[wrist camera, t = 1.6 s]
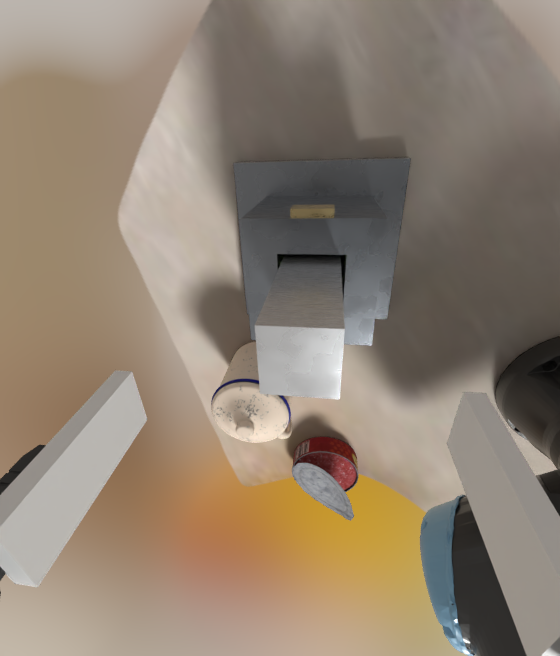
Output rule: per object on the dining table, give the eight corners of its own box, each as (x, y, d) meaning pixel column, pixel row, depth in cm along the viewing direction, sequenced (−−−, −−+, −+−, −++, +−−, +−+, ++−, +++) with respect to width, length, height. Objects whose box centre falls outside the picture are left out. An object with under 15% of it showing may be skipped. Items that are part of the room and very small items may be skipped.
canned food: (339, 454, 58) (330, 518, 53) (288, 436, 56) (273, 500, 51) (379, 448, 48) (373, 525, 43) (320, 425, 46) (305, 503, 41)
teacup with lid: (218, 355, 45) (184, 417, 35) (273, 326, 41) (253, 387, 31) (267, 414, 49) (250, 485, 39) (321, 393, 45) (317, 465, 35)
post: (339, 226, 32) (347, 327, 15) (337, 269, 34) (341, 401, 17) (294, 226, 33) (252, 323, 16) (295, 269, 35) (258, 395, 18)
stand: (407, 157, 30) (445, 166, 20) (385, 312, 38) (404, 377, 28) (237, 162, 32) (193, 172, 22) (250, 308, 40) (221, 366, 30)
